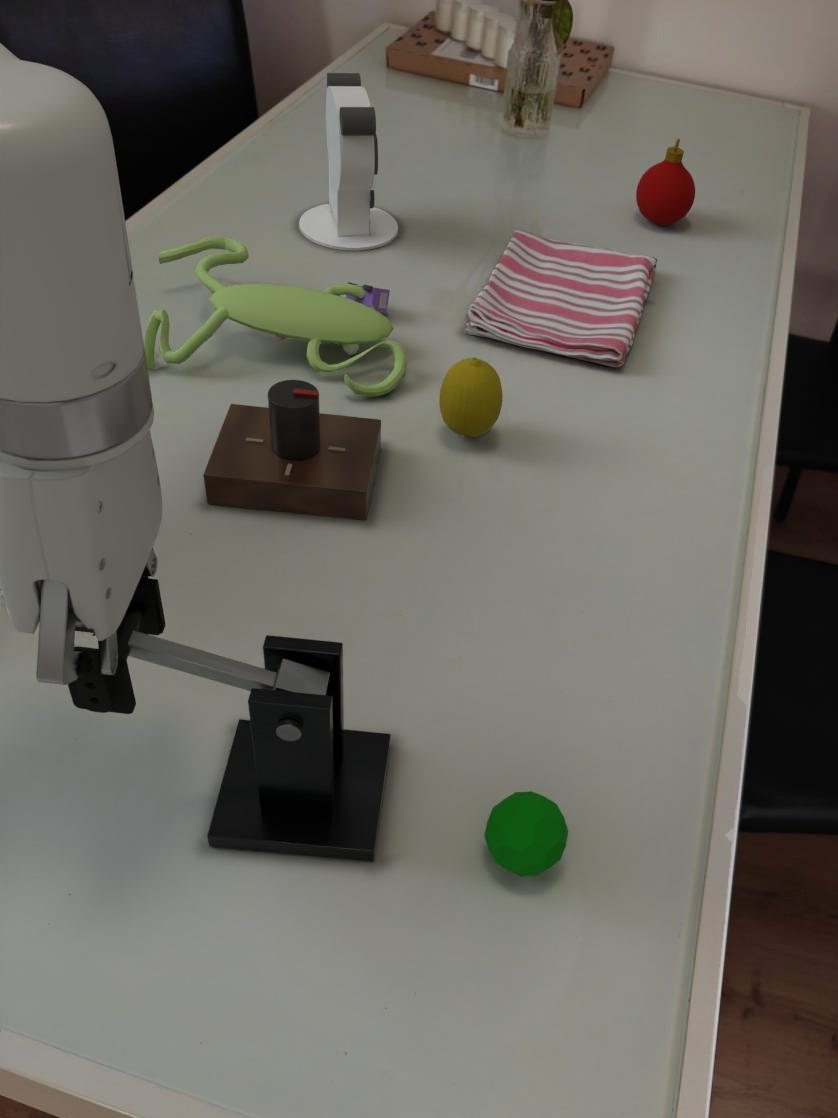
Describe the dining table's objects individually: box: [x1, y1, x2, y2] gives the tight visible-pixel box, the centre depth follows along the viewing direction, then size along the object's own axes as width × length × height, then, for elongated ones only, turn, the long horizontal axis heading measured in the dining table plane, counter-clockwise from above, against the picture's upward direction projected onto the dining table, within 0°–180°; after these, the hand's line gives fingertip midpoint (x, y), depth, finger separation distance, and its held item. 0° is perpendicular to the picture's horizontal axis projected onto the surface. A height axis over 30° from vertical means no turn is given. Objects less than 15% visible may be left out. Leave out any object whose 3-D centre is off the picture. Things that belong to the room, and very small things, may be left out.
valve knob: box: [267, 379, 321, 460], centre depth 83 cm, size 4×4×5 cm
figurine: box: [144, 236, 408, 398], centre depth 100 cm, size 18×27×6 cm
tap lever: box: [116, 599, 330, 695], centre depth 57 cm, size 12×5×2 cm, turn 87°
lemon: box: [438, 357, 504, 439], centre depth 90 cm, size 6×6×8 cm
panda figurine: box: [298, 72, 399, 252], centre depth 113 cm, size 12×11×15 cm
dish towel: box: [464, 229, 658, 368], centre depth 110 cm, size 17×23×4 cm
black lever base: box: [206, 634, 392, 863], centre depth 61 cm, size 10×9×12 cm
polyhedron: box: [483, 790, 569, 877], centre depth 62 cm, size 5×5×5 cm
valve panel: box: [202, 403, 382, 521], centre depth 86 cm, size 13×10×3 cm
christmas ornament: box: [635, 138, 696, 226], centre depth 124 cm, size 7×7×10 cm
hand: (121, 664), depth 57 cm, fingers closed on tap lever, 5 cm apart
